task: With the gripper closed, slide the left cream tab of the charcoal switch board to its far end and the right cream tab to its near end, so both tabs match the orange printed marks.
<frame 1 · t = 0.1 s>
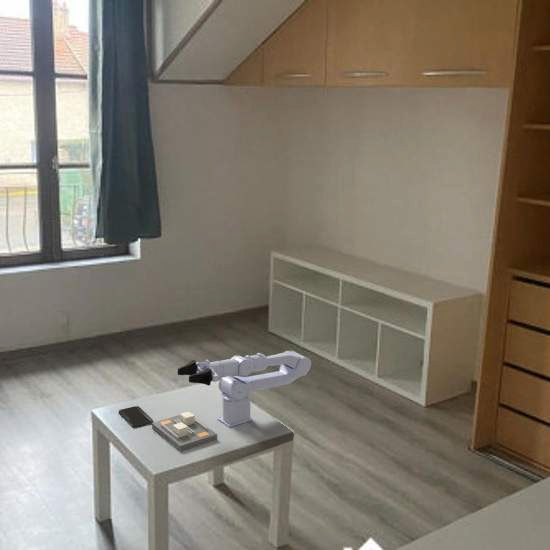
hand: (183, 375, 240), 22 cm above the table, tool horizontal, fingers open, 7 cm apart
phone: (135, 419, 258), on the table
switch board: (184, 433, 246), on the table
tab b: (180, 429, 241), point 4 cm above the table, slide at 3.0 cm
tab a: (187, 418, 249), point 4 cm above the table, slide at -3.0 cm
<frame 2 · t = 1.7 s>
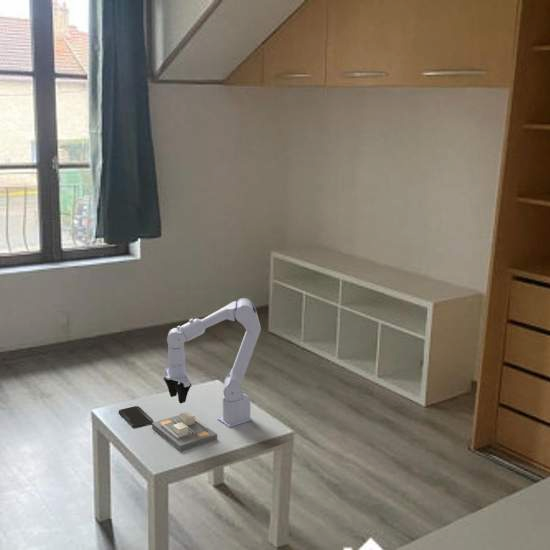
hand: (177, 399, 253), 8 cm above the table, tool pointing down, fingers open, 6 cm apart
nothing on the table moved.
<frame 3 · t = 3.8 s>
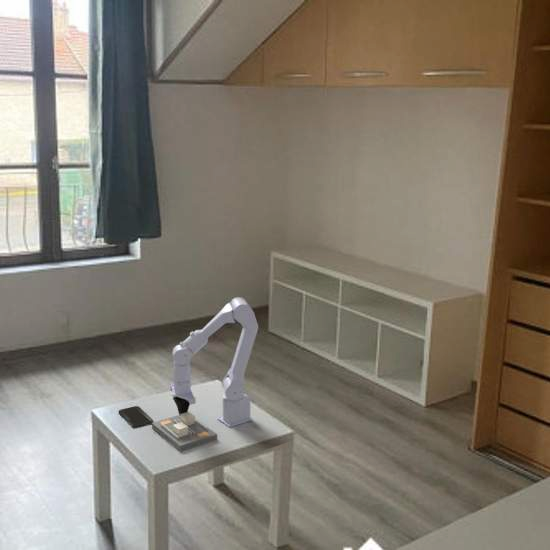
hand: (183, 416, 251), 3 cm above the table, tool pointing down, fingers closed
tab a: (187, 418, 249), point 4 cm above the table, slide at -2.8 cm, touching gripper
everything else where it was.
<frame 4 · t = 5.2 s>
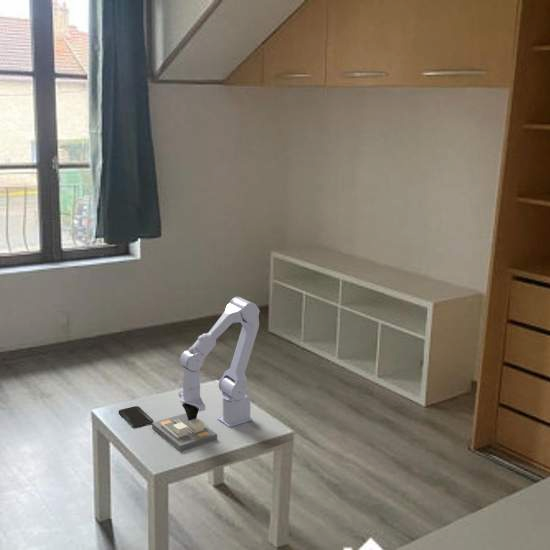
hand: (192, 422, 246), 3 cm above the table, tool pointing down, fingers closed
tab a: (196, 425, 244), point 4 cm above the table, slide at 3.2 cm, touching gripper
everything else where it was.
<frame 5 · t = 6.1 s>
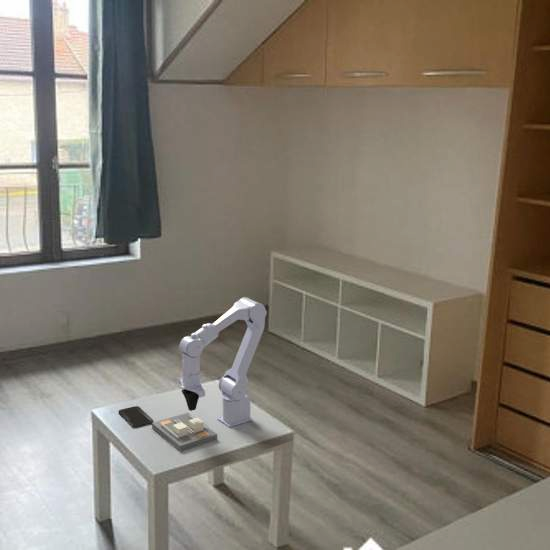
hand: (192, 409, 245), 8 cm above the table, tool pointing down, fingers closed
tab a: (196, 425, 244), point 4 cm above the table, slide at 3.1 cm
everything else where it was.
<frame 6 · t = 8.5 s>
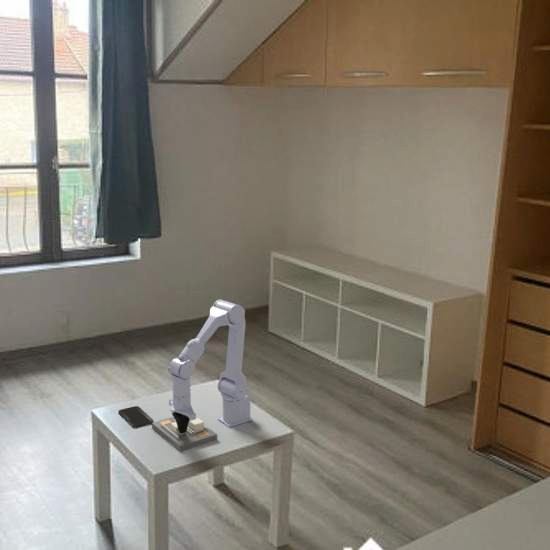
hand: (182, 432, 240), 3 cm above the table, tool pointing down, fingers closed
tab b: (178, 428, 242), point 4 cm above the table, slide at 1.4 cm, touching gripper
everything else where it was.
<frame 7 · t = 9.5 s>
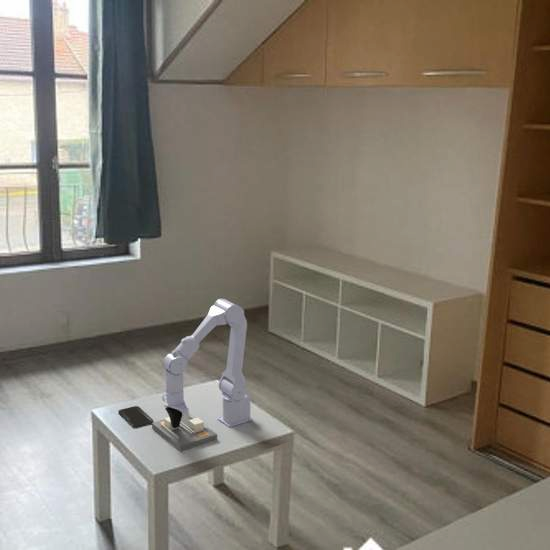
hand: (175, 426, 243), 3 cm above the table, tool pointing down, fingers closed
tab b: (171, 423, 246), point 4 cm above the table, slide at -3.1 cm, touching gripper
everything else where it was.
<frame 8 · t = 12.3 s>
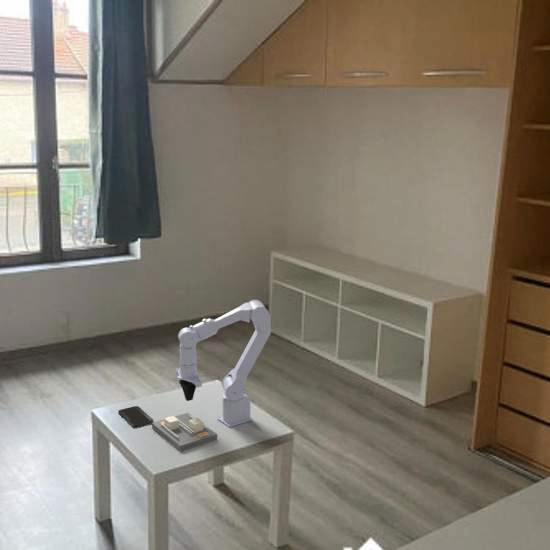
hand: (189, 399, 250), 9 cm above the table, tool pointing down, fingers closed
tab b: (171, 423, 246), point 4 cm above the table, slide at -3.1 cm
everything else where it was.
at the end: tab a slide at 3.1 cm; tab b slide at -3.1 cm; phone moved 0.6 cm from its start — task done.
